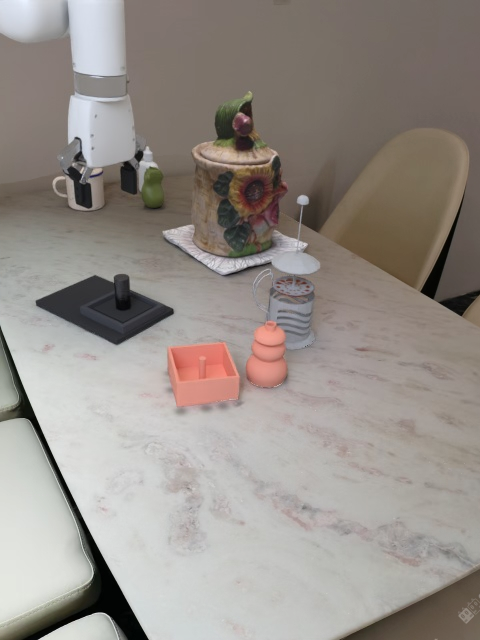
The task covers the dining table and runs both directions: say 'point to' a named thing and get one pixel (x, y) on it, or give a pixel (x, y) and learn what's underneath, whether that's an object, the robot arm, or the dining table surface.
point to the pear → (152, 188)
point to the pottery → (225, 367)
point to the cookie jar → (235, 197)
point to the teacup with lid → (96, 190)
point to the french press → (292, 294)
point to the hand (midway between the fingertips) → (107, 199)
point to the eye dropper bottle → (145, 165)
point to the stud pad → (122, 314)
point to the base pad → (79, 310)
